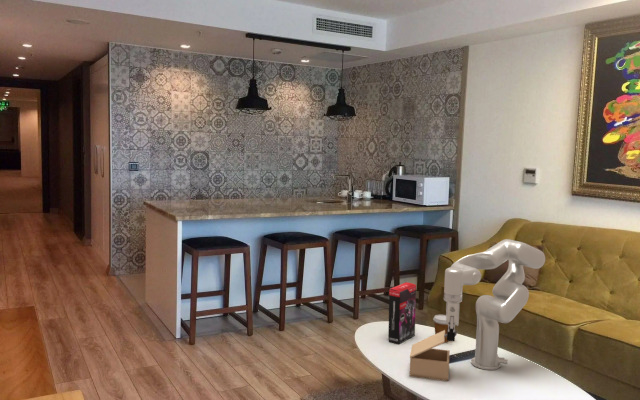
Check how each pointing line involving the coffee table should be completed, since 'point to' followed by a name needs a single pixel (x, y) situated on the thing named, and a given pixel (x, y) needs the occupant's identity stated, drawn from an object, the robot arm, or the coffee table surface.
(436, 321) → the disposable coffee cup
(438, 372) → the carton
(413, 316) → the graphics card box
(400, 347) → the coffee table surface
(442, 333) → the carton lid
